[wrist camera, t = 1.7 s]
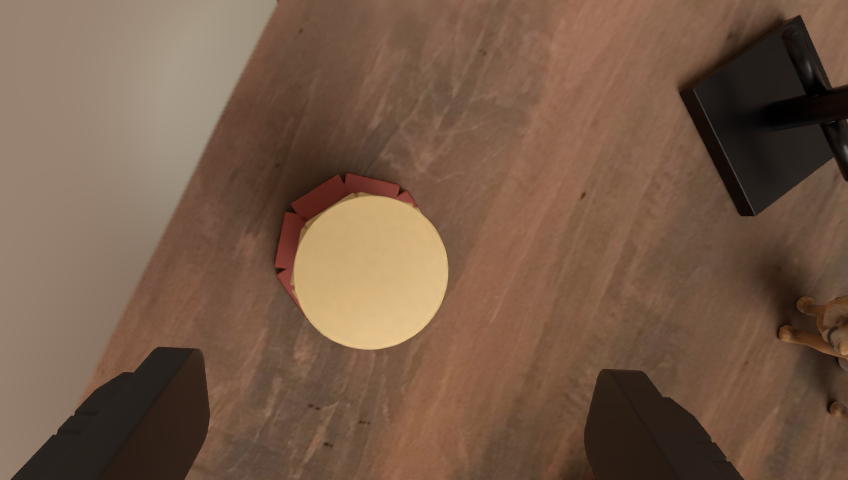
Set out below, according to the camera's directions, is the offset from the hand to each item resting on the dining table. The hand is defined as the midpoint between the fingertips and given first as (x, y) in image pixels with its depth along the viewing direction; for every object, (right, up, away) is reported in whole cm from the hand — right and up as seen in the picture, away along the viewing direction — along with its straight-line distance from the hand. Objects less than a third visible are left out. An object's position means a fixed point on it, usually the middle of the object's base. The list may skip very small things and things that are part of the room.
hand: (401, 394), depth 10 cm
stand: (+25, +12, +24) cm, 36 cm away
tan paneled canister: (-4, +2, +19) cm, 19 cm away
